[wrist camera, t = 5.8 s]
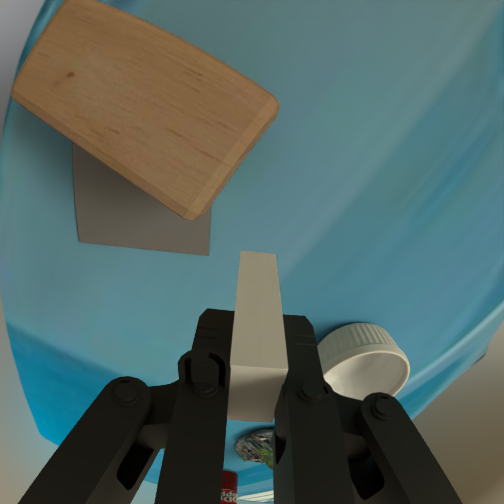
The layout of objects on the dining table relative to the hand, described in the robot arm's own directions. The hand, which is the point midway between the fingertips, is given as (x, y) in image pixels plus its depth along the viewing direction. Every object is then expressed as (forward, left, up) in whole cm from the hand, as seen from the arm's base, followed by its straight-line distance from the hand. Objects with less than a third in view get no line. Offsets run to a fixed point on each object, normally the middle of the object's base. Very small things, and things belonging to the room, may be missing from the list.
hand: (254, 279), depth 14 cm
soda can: (+69, 0, -18) cm, 71 cm away
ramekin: (+21, +16, -18) cm, 32 cm away
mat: (0, -12, -17) cm, 21 cm away
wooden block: (-3, -1, -11) cm, 12 cm away
